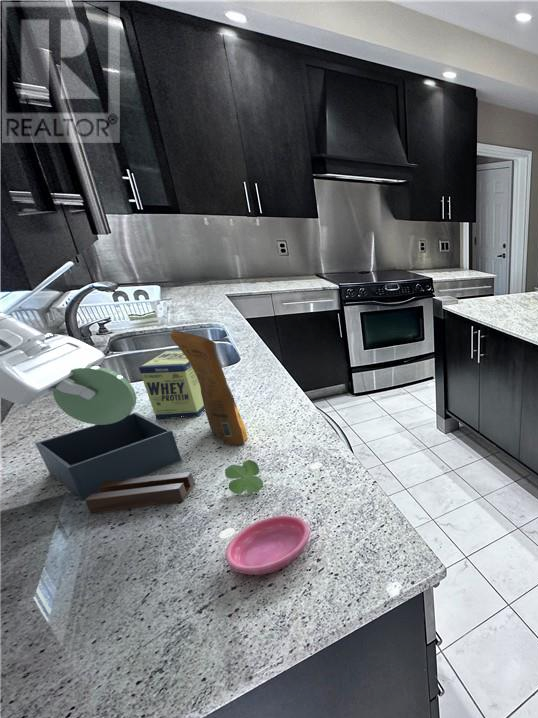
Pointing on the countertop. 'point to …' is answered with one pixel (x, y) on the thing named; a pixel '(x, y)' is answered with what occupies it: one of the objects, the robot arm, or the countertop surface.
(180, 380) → the protein box
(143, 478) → the plate stand
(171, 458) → the tub
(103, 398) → the plate
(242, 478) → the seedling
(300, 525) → the saucer
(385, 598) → the countertop surface
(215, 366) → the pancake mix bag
